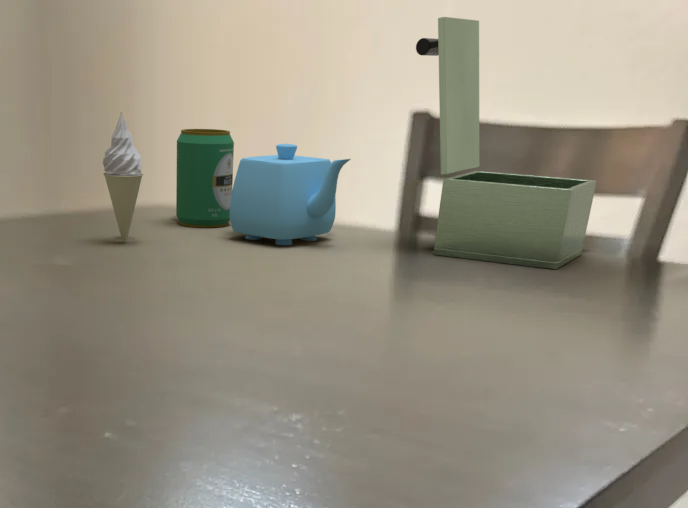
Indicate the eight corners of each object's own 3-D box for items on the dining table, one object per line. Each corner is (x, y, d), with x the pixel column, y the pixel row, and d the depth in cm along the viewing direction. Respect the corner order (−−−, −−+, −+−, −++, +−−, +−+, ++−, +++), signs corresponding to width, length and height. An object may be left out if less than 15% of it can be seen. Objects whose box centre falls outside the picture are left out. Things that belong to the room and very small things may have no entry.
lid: (479, 20, 121) (440, 28, 124) (444, 16, 112) (403, 25, 114) (479, 166, 128) (442, 170, 131) (446, 174, 119) (408, 178, 121)
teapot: (313, 255, 122) (320, 153, 116) (209, 236, 132) (211, 141, 126) (370, 244, 129) (380, 148, 123) (268, 227, 140) (272, 137, 134)
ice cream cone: (128, 238, 129) (126, 109, 121) (151, 243, 126) (150, 112, 118) (97, 241, 126) (93, 110, 119) (119, 247, 123) (116, 112, 115)
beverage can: (212, 229, 137) (215, 134, 130) (165, 224, 140) (165, 130, 134) (241, 223, 142) (244, 131, 136) (195, 217, 146) (196, 127, 140)
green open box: (581, 254, 126) (596, 180, 122) (556, 269, 117) (571, 189, 113) (465, 241, 133) (476, 170, 129) (432, 254, 124) (443, 178, 119)
